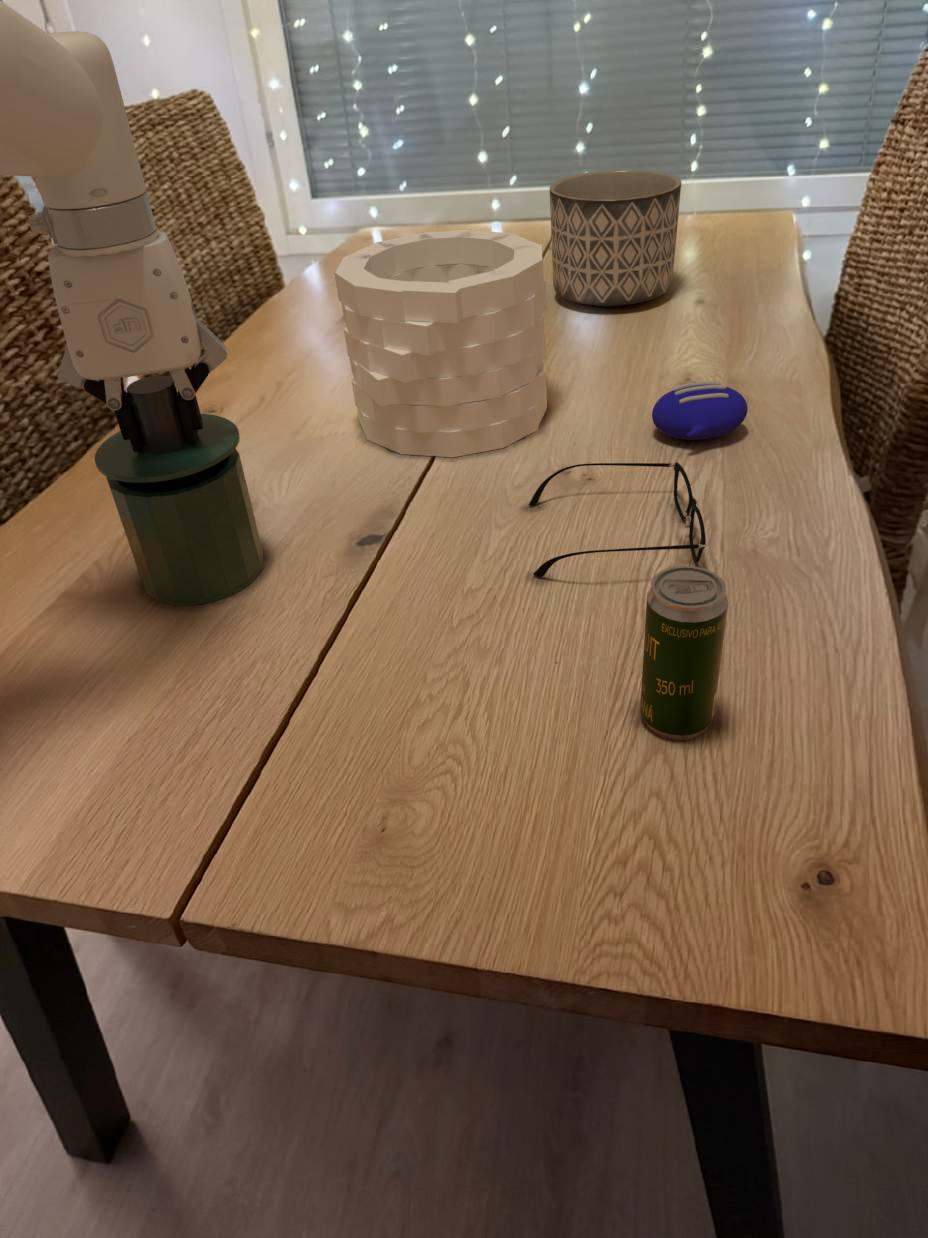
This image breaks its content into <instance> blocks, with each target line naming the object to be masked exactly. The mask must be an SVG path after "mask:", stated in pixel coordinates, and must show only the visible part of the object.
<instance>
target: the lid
mask: <svg viewBox="0 0 928 1238" xmlns="http://www.w3.org/2000/svg"><path fill="white" fill-rule="evenodd" d="M126 392H127V393H128V397H129V400H130V403H131V406H132V410H133V413H134V416H135V419H136V423H137V426H138V429H139V432H140V435H141V439H142V442H143V449H142V450H141V451H140V452H134V451H133V448H132V445H131V442H130V440H124V439H123V437H122V434H121V430H119V431H118V432H116V433H114V434H112V435H111V436H110V437H108V438H106V440H104V441H103V442H102V443H101V444H100V445H99V447H98V448H97V449H96V451H95V454H94V457H93V459H94V464H95V466H96V468H97V470H98V472H99V473H100V474H101V475H103V476H104V477H109V478H111V479H114V480H118V481H123V482H133V483H147V482H159V481H166V480H172V479H176V478H181V477H184V476H188V475H191V474H194V473H197V472H200V471H202V470H205V469H207V468H209V467H211V466H213V465H215V464H217V463H219V462H220V461H222V460H224V459H225V458H226V457H227V456H229V455H230V454H231V453H232V452H233V451H234V450H235V448H236V449H237V447H238V446H239V443H240V439H241V437H240V431H239V428H238V427H237V425H236V424H235V423H234V422H233V421H232V420H230V419H228V418H225V417H222V416H220V415H216V414H210V413H201V417H202V422H203V429H200V430H198V434H197V443H195V444H190V443H188V442H187V439H186V435H185V432H184V428H183V424H182V421H181V417H180V414H179V410H178V406H177V400H178V388H177V386H176V384H175V382H174V380H173V378H172V376H167V375H152V376H146V377H143V378H139V379H136V380H134V381H132V382H131V383H129V384H128V385H127V387H126Z"/></svg>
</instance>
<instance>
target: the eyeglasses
mask: <svg viewBox="0 0 928 1238" xmlns="http://www.w3.org/2000/svg"><path fill="white" fill-rule="evenodd" d="M587 466H588V467H589V466H590V467H591V466H616V467H617V466H618V467H619V466H622V467H628V466H629V467H654V468H655V467H657V468H673V471H674V475H673V477H674V480H673V499H674V502H675V507H676V509H677V512H678V514H679V516H680V518H681V519H682V520H686V521H685V525H686V526H689V531H688V532H689V533H688V539H689V544H681V545H680V544H678V545H664V546H663V545H662V546H661V545H660V546H645V547H630V548H628V547H627V548H616V549H615V548H611V549H597V550H596V549H595V550H586V551H585V550H584V551H577V552H570V553H566V554H563V555H558V556H555V557H551V558H550V559H548V560H546V561H545V562H543V563H542V564H541V565H540V566H539V567H538V568H537V569H536V570H535V572H533V576H535V577H539V578H543V577H545V575H546V574H547V573H548V571H549V569H551V568H552V566H553V565H555V563H557V562H558V561H560V560H562V559H566V558H570V557H573V556H579V555H585V554H595V553H596V554H597V553H609V552H610V553H611V552H614V553H615V552H636V551H661V550H662V551H664V550H690V552H691V555H692V558H693V561H694V563H699V562H700V560H701V557H702V555H703V551H704V549H706V547H707V544H706V543H707V538H706V530H705V529H706V528H705V524H704V523H705V522H704V520H703V516H702V512H701V511H700V508H699V507H698V505H697V504H698V501H697V500H696V498H695V497H694V496H693V491H692V487H691V484H690V480H689V477H688V475H687V473H686V471H685V469H684V467H683V466H682V465H681V464H680V463H679V462H677V461H676V462H674V463H672V462H671V463H669V462H668V463H665V462H661V463H660V462H653V463H652V462H650V463H649V462H610V463H609V462H607V463H606V462H596V463H578V464H574V465H570V466H566V467H563V468H561V469H559V470H557V471H555V472H553V474H551V475H550V476H548V477H547V478H545V479H544V480H543V482H542V483H541V484H540V485H538V488H537V489H536V490H535V492H534V494H533V495H532V497H531V499H530V501H529V503H528V506H529V507H533V506H536V505H537V504H538V503H539V502H540V498H541V496H542V494H543V492H544V490H545V488H546V486H547V485H548V484H549V482H550V481H551V480H552V479H554V478H555V477H556V476H557V475H559V474H561V473H563V472H565V471H568V470H570V469H574V468H577V467H587ZM680 473H681V475H682V477H683V480H684V483H685V486H686V489H687V494H688V502H687V506H686V507H685V508H684V509H683V511H682V509H681V506H680V502H679V499H678V482H679V475H680ZM695 514H696V516H697V519H698V524H699V529H700V541H699V543H696V544H695V543H694V521H695ZM689 515H690V516H689ZM688 518H689V519H688ZM695 549H698V550H697V554H696V550H695Z"/></svg>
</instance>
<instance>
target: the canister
mask: <svg viewBox="0 0 928 1238" xmlns="http://www.w3.org/2000/svg"><path fill="white" fill-rule="evenodd" d="M105 477H106V476H105ZM106 480H107V484H108V487H109V490H110V493H111V495H112V499H113V501H114V504H115V508H116V510H117V513H118V516H119V518H120V522H121V525H122V527H123V530H124V533H125V537H126V539H127V543H128V546H129V548H130V551H131V554H132V557H133V560H134V562H135V565H136V569H137V572H138V575H139V577H140V580H141V583H142V586H143V589H144V590H145V592H146V593H147V595H148V596H149V597H151V598H152V599H153V600H155V601H157V602H160V603H163V604H167V605H172V606H197V605H203V604H209V603H213V602H217V601H220V600H222V599H225V598H227V597H231V596H232V595H235V594H236V593H238V592H240V591H242V590H243V589H245V588H246V587H248V586H249V585H250V584H252V582H254V580H256V579H257V577H258V575H260V573H261V571H262V569H263V567H264V561H265V559H264V551H263V547H262V542H261V538H260V534H259V531H258V526H257V522H256V518H255V517H256V516H255V514H254V509H253V505H252V500H251V497H250V493H249V489H248V485H247V480H246V476H245V472H244V468H243V464H242V459H241V456H240V452H239V451H238V449H237V447H236V448H235V450H234V451H233V452H232V453H231V454H230V455H229V456H227V457H226V458H225V459H224V460H222V461H220V462H219V463H217V464H215V465H213V466H211V467H209V468H207V469H205V470H202V471H200V472H197V473H194V474H191V475H188V476H184V477H181V478H176V479H172V480H166V481H159V482H147V483H133V482H123V481H118V480H114V479H111V478H109V477H106Z"/></svg>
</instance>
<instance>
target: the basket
mask: <svg viewBox="0 0 928 1238" xmlns="http://www.w3.org/2000/svg"><path fill="white" fill-rule="evenodd" d="M334 279H335V285H336V291H337V292H336V293H337V298H338V301H339V302H340V303H341V311H342V315H343V316H342V317H343V321H344V324H345V325H344V328H343V334H344V338H345V347H346V353H347V356H348V357H349V364H350V369H351V374H352V376H353V377H352V380H351V385H352V392H353V398H354V406H355V407H356V408H357V415H358V416H357V417H358V420H359V423H360V426H361V428H362V431H363V433H364V436H365V438H366V440H367V441H369V442H372V443H373V444H376V445H379V446H381V447H383V448H385V449H388V450H390V451H392V452H395V453H398V454H400V455H410V456H411V455H412V456H426V457H427V456H428V457H441V458H451V459H452V458H456V457H462V456H468V455H474V454H477V453H484V452H490V451H495V450H502V449H504V448H507V447H508V446H510V445H511V444H513V443H516V442H518V441H520V440H521V439H523V438H525V437H527V436H530V435H531V434H533V433H535V432H537V431H539V426H540V424H541V422H542V420H543V418H544V416H545V414H546V412H547V409H548V391H547V390H548V388H547V386H548V385H547V384H546V371H545V369H544V362H545V360H546V359H547V355H546V354H547V353H546V352H547V351H546V350H547V349H546V348H547V347H546V333H545V316H544V315H543V314H544V313H545V311H546V309H547V279H544V259H543V244H541V243H536V242H534V241H531V240H530V239H527V238H524V237H521V236H519V235H518V234H515V233H513V232H512V233H511V232H501V231H500V232H499V231H489V230H477V229H458V230H456V229H455V230H445V231H444V230H443V231H428V232H420V233H414V234H409V235H405V236H400V237H395V238H391V239H386V240H381V241H377V242H375V243H372V244H370V245H368V246H365V247H363V248H361V249H359V250H357V251H354V252H352V253H350V254H347V255H345V256H343V257H342V260H341V261H340V263H339V265H338V267H337V269H336V270H335V271H334Z"/></svg>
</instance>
